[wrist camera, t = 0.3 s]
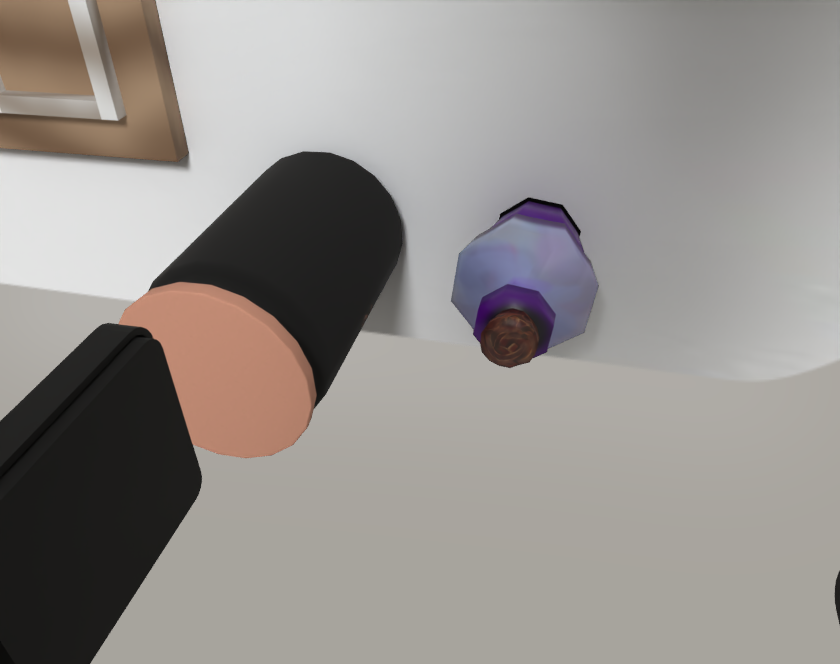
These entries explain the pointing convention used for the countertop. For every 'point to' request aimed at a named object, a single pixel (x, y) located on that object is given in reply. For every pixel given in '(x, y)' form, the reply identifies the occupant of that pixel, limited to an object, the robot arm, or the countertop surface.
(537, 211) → the potion bottle
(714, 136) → the countertop surface
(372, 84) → the countertop surface
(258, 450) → the coffee jar
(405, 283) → the countertop surface
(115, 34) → the walnut board
